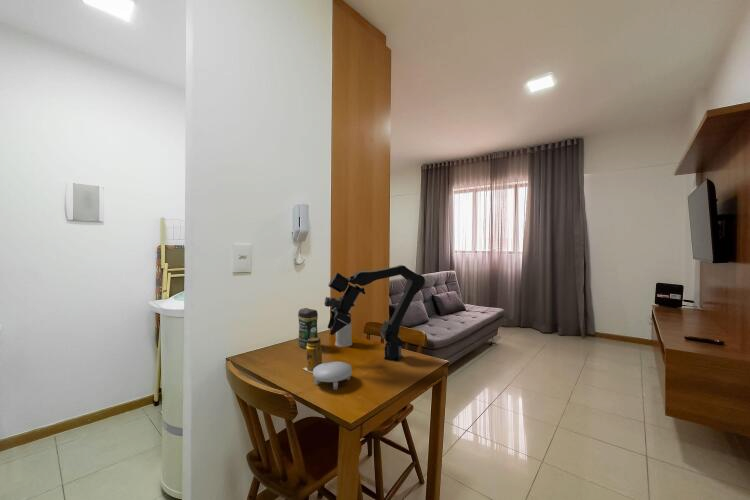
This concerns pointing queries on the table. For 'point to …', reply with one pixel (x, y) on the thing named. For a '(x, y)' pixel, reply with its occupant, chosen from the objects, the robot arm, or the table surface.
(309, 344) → the condiment
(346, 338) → the glass holder
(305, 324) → the coffee jar
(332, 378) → the round white stand
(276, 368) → the table surface
